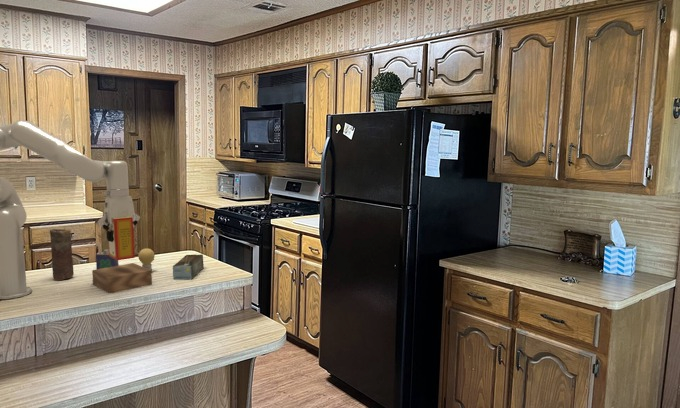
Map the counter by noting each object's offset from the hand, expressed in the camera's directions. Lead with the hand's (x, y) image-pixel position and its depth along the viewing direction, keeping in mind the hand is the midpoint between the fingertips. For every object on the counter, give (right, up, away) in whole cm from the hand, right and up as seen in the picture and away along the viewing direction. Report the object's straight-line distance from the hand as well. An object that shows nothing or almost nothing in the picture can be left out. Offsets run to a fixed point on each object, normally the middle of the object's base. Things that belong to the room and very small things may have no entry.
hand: (120, 239), depth 191 cm
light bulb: (+2, -15, +21) cm, 26 cm away
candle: (-27, -17, +10) cm, 33 cm away
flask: (-12, -16, +16) cm, 26 cm away
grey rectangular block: (+20, -16, +19) cm, 32 cm away
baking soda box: (0, -7, +1) cm, 7 cm away
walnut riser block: (0, -18, +2) cm, 18 cm away
